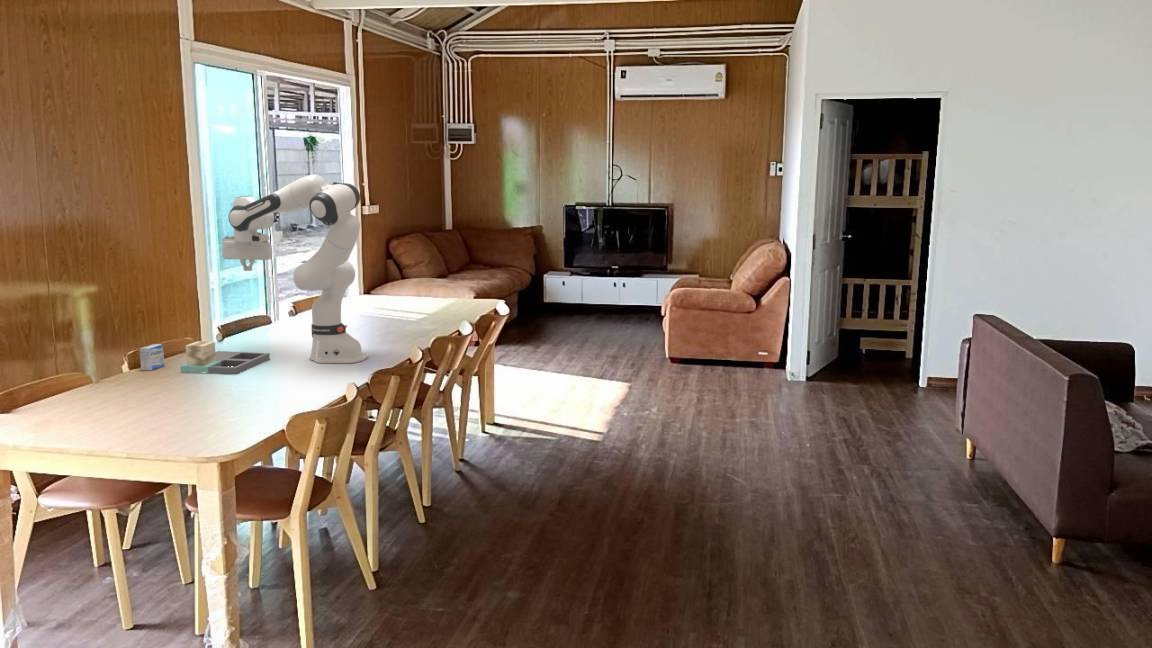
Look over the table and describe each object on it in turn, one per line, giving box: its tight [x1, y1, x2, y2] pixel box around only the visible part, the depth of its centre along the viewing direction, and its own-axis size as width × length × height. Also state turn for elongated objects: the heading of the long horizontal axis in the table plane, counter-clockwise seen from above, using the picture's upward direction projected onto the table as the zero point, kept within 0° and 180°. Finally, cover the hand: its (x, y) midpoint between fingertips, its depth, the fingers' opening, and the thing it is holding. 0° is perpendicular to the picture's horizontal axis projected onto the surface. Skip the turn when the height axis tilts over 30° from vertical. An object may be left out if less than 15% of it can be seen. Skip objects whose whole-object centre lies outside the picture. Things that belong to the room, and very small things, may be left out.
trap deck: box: [180, 350, 271, 375], centre depth 342 cm, size 22×26×2 cm
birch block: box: [185, 340, 216, 366], centre depth 334 cm, size 7×8×8 cm
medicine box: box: [139, 343, 166, 372], centre depth 336 cm, size 8×4×9 cm, turn 168°
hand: (248, 270), depth 359 cm, fingers closed
